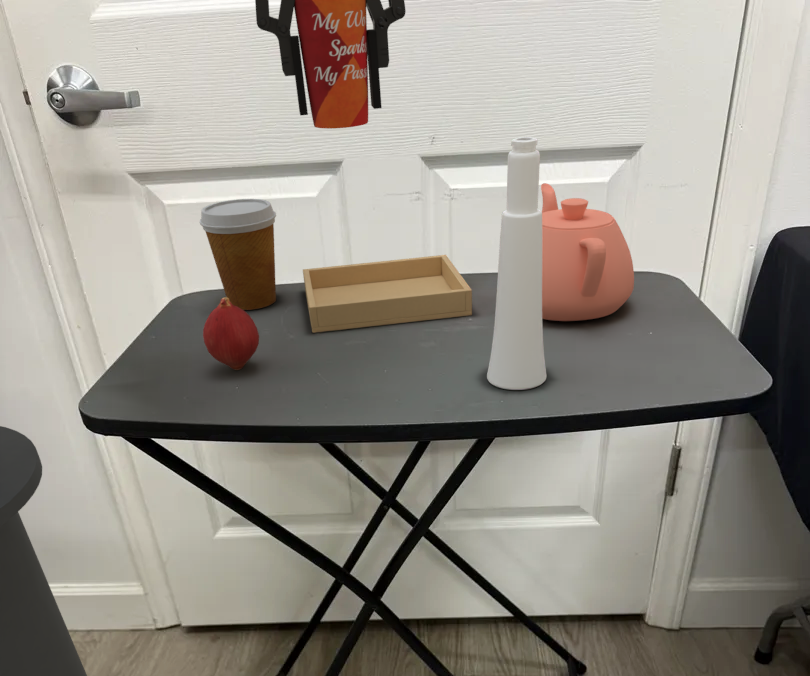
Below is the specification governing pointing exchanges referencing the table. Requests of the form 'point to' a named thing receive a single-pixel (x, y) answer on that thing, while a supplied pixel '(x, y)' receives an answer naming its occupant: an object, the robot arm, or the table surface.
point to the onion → (230, 335)
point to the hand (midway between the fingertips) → (340, 109)
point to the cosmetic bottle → (519, 277)
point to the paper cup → (334, 60)
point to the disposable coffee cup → (243, 249)
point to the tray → (385, 293)
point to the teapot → (582, 261)
